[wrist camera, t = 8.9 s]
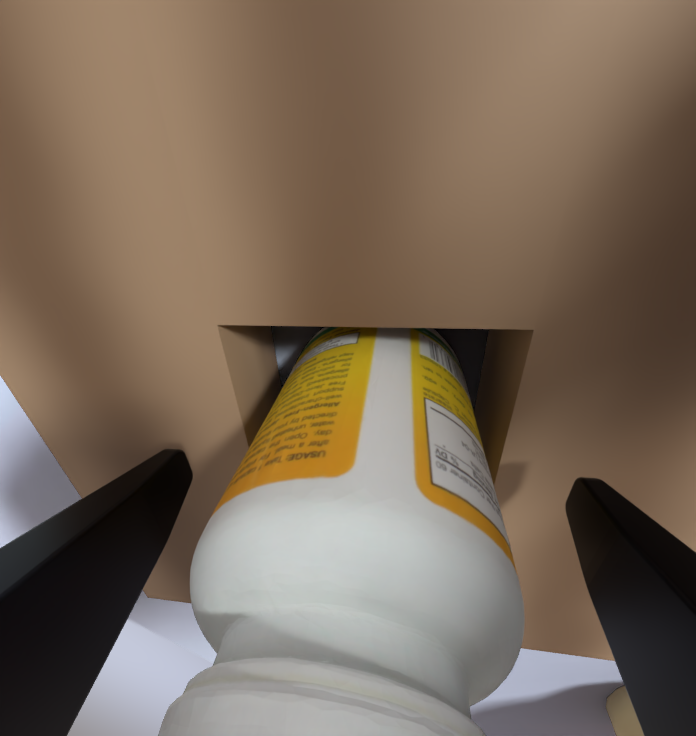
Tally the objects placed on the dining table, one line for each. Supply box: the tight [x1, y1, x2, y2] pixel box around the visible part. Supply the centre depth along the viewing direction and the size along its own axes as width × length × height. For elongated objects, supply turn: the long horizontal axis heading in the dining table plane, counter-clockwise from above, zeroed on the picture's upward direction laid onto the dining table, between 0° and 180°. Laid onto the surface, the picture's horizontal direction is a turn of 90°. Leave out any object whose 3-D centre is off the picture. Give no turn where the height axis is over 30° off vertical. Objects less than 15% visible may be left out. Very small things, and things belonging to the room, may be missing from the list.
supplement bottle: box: [158, 327, 525, 736], centre depth 7 cm, size 5×5×10 cm
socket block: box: [0, 0, 696, 661], centre depth 10 cm, size 20×20×3 cm
